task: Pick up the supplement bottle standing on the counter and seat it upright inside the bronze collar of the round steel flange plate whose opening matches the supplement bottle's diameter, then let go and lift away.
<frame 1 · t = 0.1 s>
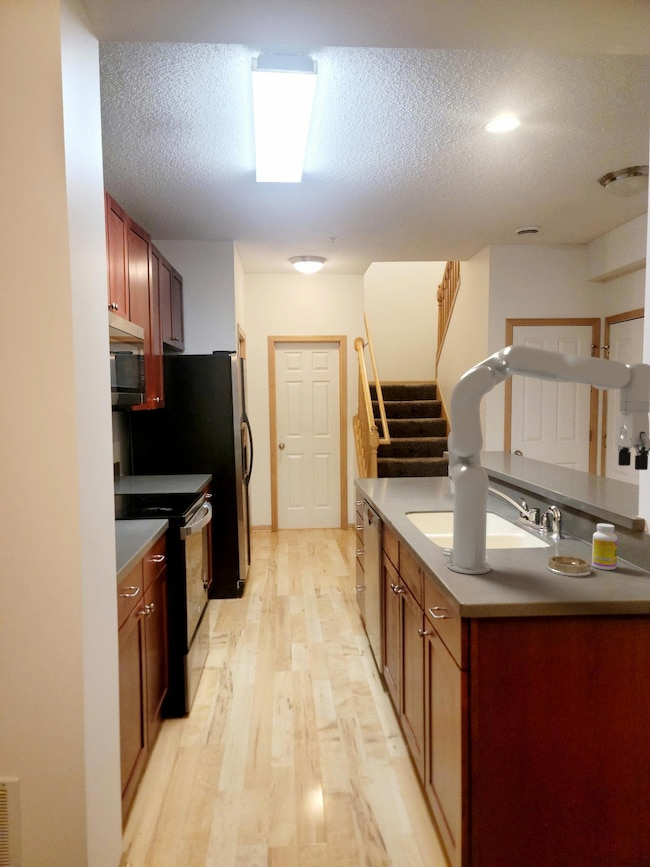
hand: (632, 467, 156), 31 cm above the worktop, tool pointing down, fingers open, 9 cm apart
flange plate: (568, 570, 162), on the worktop
supplement bottle: (604, 567, 165), on the worktop
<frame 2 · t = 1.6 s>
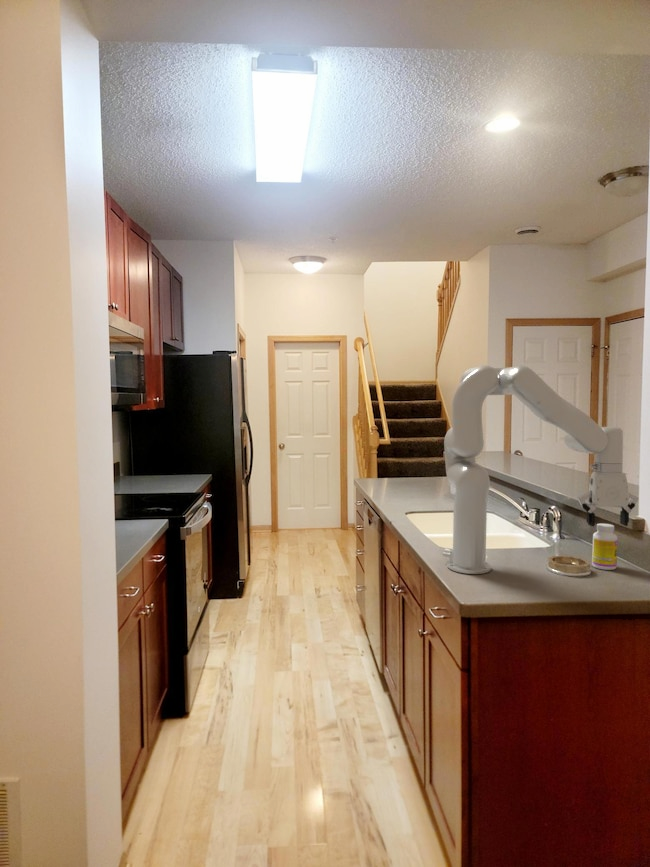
hand: (607, 525, 164), 13 cm above the worktop, tool pointing down, fingers open, 9 cm apart
nothing on the worktop moved.
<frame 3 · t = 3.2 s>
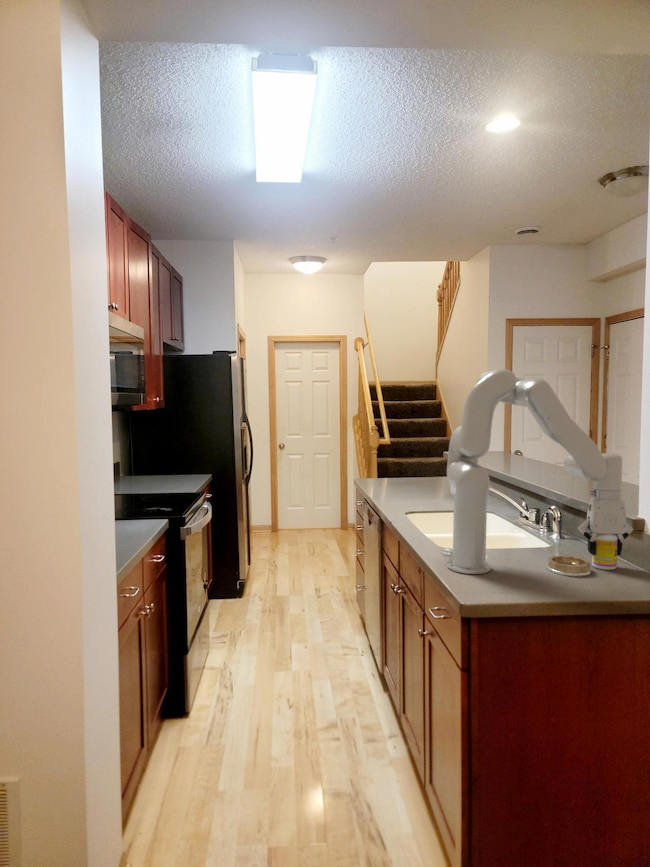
hand: (604, 553, 165), 4 cm above the worktop, tool pointing down, fingers closed on supplement bottle, 6 cm apart
supplement bottle: (604, 567, 165), on the worktop, touching gripper
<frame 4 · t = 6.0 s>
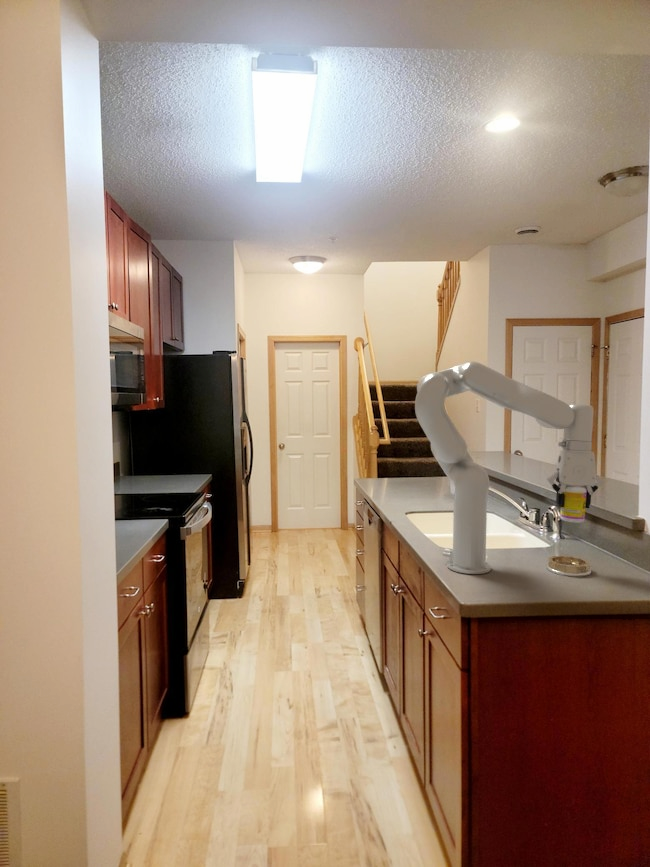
hand: (573, 506, 161), 19 cm above the worktop, tool pointing down, fingers closed on supplement bottle, 6 cm apart
supplement bottle: (572, 521, 161), point 15 cm above the worktop, touching gripper
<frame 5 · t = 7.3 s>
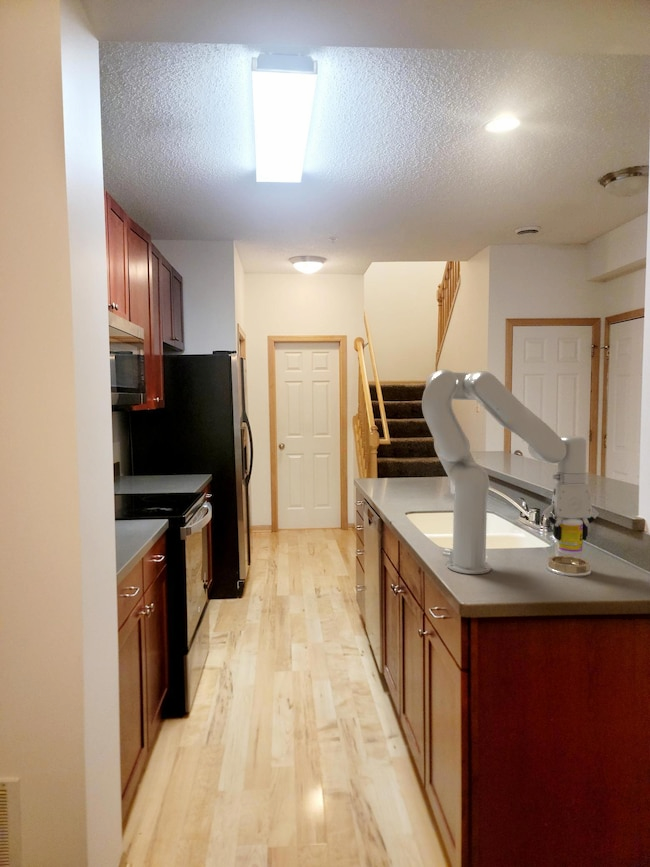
hand: (570, 538, 161), 10 cm above the worktop, tool pointing down, fingers closed on supplement bottle, 6 cm apart
supplement bottle: (569, 553, 161), point 5 cm above the worktop, touching gripper
when the fingers open (6 cm above the worktop, at t = 8.7 s): supplement bottle drops 1 cm, resting on flange plate.
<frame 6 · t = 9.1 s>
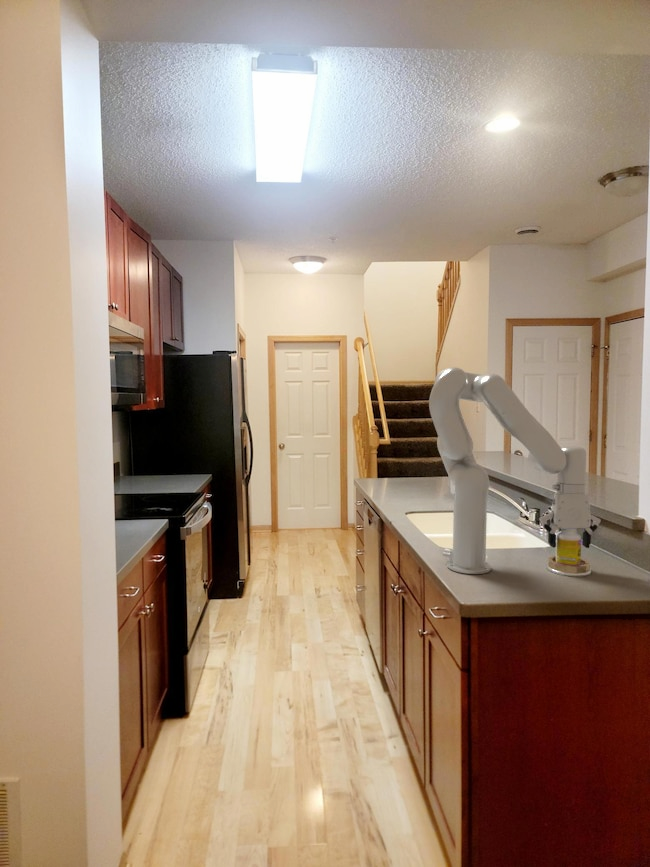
hand: (569, 546, 161), 7 cm above the worktop, tool pointing down, fingers open, 9 cm apart
supplement bottle: (567, 568, 162), point 1 cm above the worktop, touching flange plate
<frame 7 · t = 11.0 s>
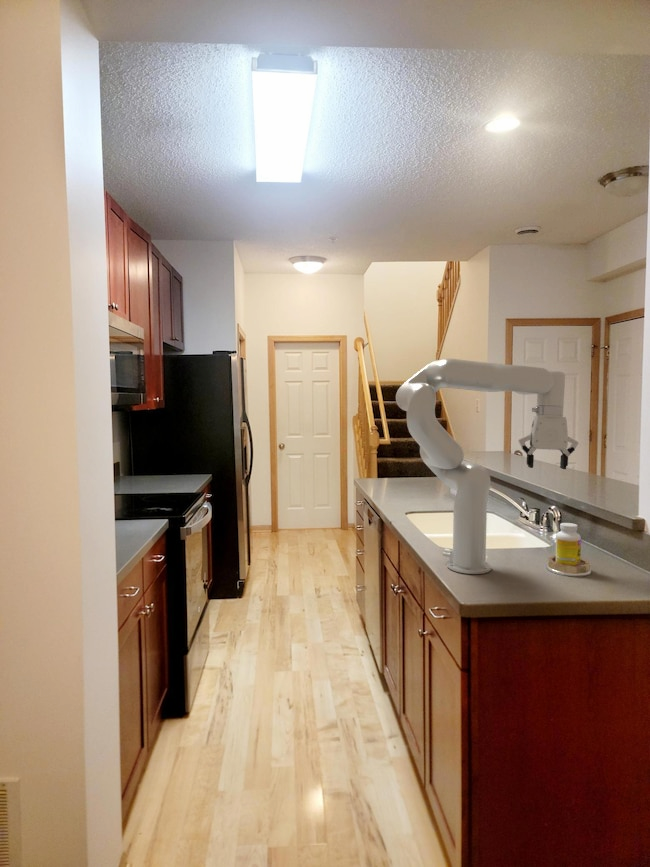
hand: (546, 468, 167), 29 cm above the worktop, tool pointing down, fingers open, 9 cm apart
nothing on the worktop moved.
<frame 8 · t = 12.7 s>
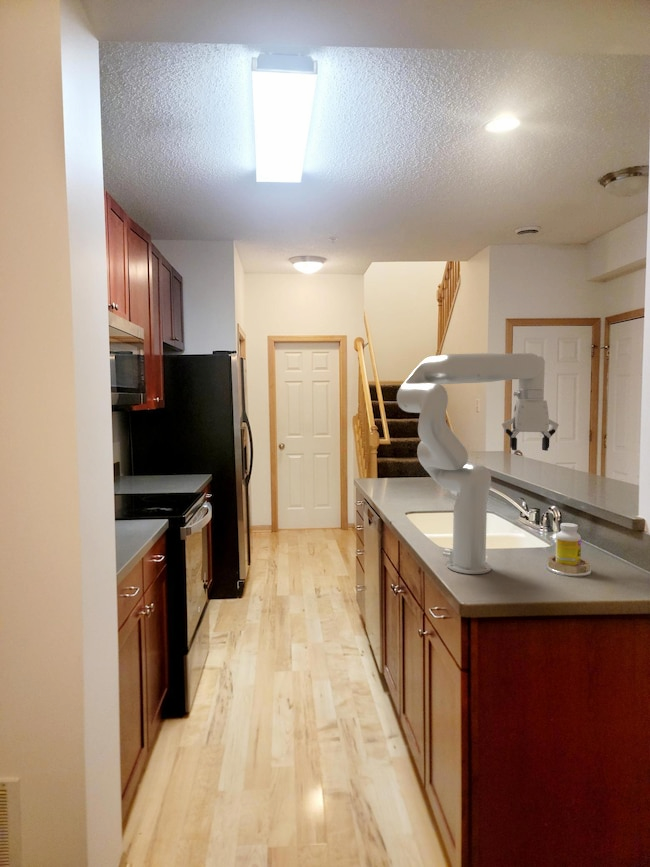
hand: (529, 450, 173), 34 cm above the worktop, tool pointing down, fingers open, 9 cm apart
nothing on the worktop moved.
at the end: supplement bottle 0.2 cm off-centre on the flange plate, point 0.6 cm above the flange plate's base; supplement bottle tilted 0°; the gripper is holding nothing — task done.
